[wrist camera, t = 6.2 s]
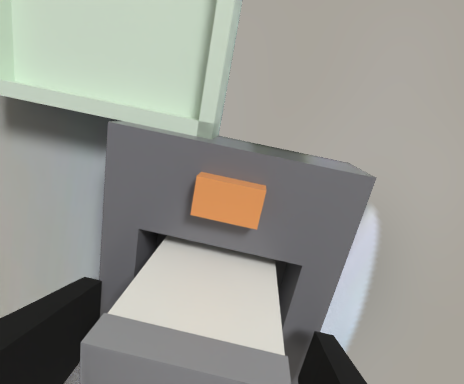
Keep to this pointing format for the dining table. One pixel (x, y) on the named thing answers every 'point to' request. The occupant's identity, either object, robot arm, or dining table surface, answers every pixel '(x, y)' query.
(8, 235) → the dining table surface
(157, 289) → the plug
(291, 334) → the power strip
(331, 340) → the robot arm
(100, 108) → the tray
